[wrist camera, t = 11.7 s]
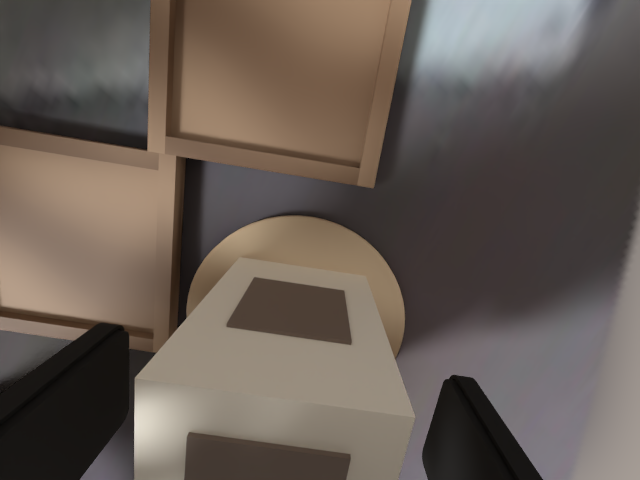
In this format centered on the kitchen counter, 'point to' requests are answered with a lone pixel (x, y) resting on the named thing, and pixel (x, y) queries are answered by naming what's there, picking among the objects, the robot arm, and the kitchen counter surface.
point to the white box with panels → (274, 384)
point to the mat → (307, 261)
